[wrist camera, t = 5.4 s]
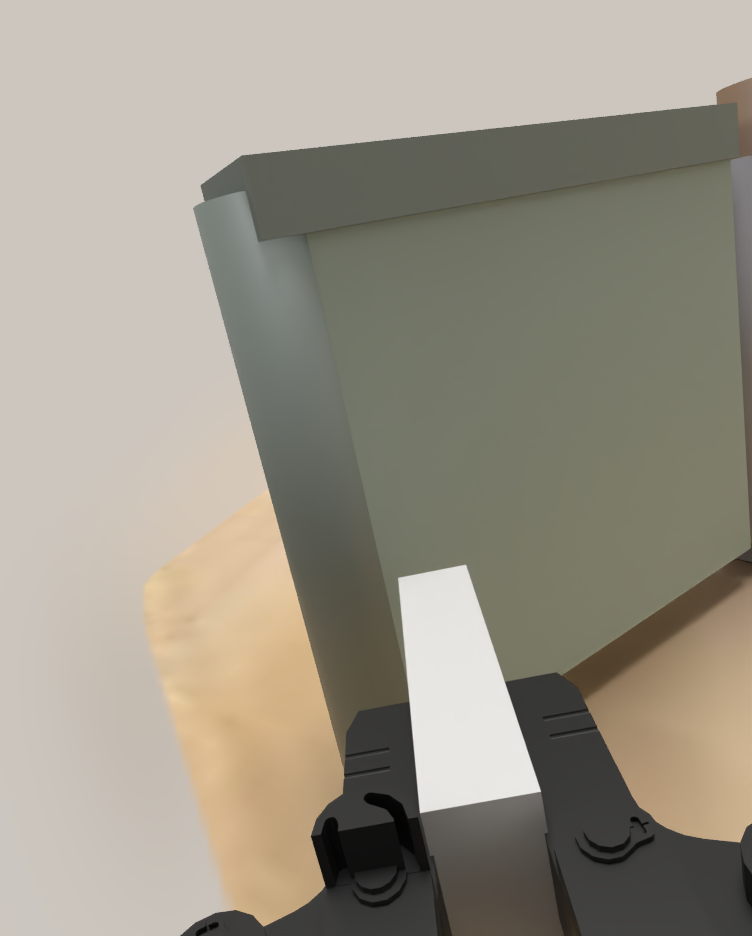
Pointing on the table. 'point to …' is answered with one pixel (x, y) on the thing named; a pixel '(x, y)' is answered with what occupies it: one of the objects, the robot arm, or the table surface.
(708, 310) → the panel
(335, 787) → the table surface
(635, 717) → the table surface
